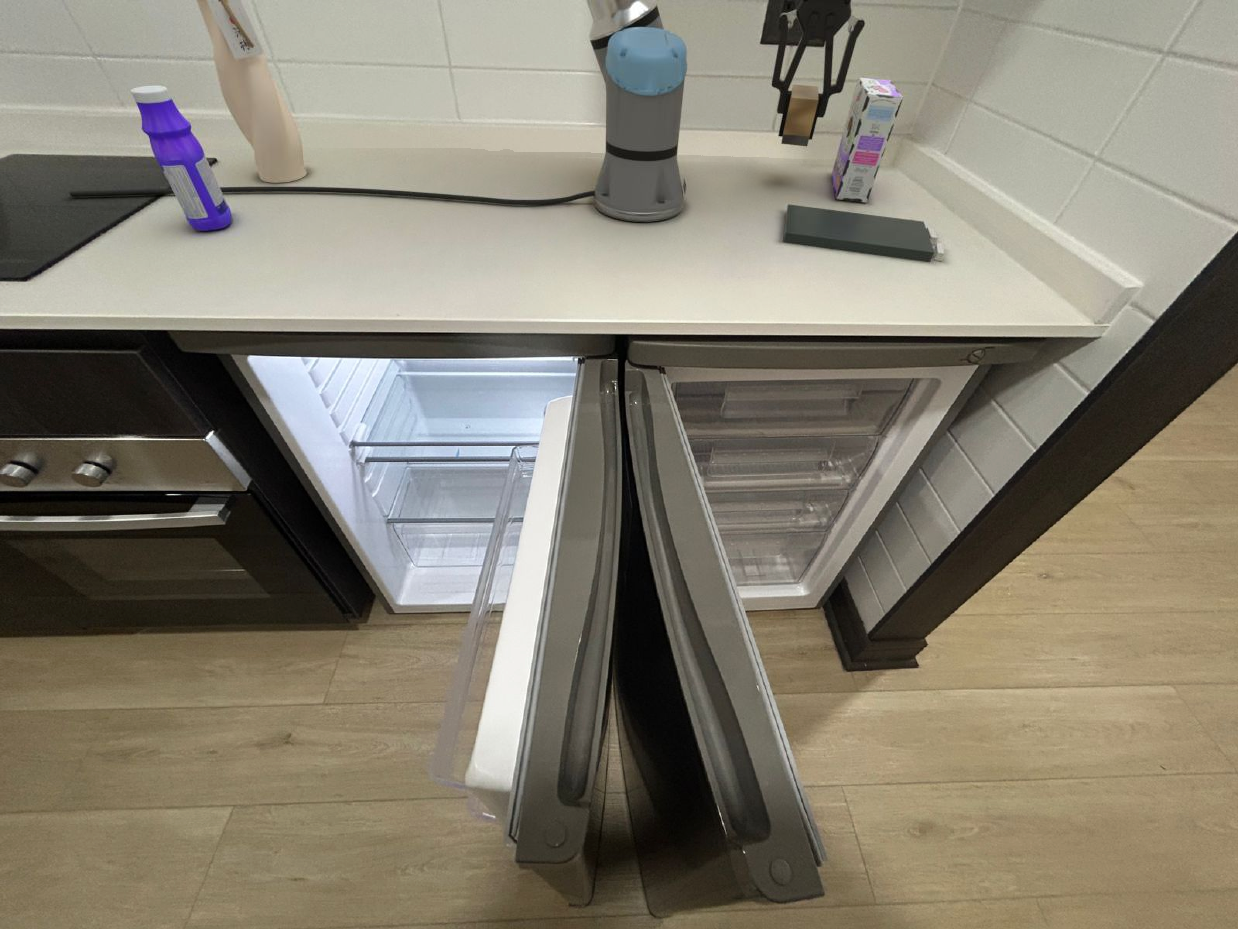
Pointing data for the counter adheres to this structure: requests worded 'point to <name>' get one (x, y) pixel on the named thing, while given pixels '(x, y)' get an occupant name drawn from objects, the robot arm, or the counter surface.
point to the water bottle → (253, 92)
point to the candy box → (865, 138)
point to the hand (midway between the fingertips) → (795, 135)
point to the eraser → (800, 115)
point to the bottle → (182, 159)
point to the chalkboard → (858, 232)
